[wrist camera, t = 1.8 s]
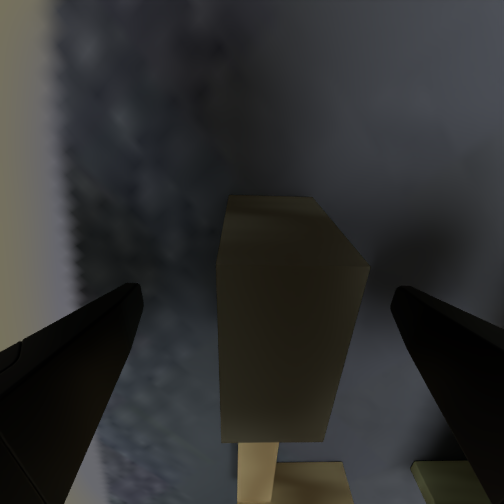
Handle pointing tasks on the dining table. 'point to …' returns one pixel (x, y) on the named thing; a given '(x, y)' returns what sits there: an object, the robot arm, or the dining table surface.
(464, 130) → the dining table surface
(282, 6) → the dining table surface
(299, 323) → the crook tool
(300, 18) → the dining table surface
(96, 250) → the dining table surface
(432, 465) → the sage cubby
